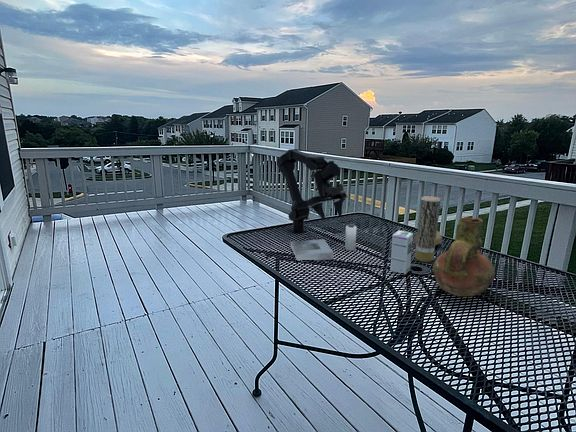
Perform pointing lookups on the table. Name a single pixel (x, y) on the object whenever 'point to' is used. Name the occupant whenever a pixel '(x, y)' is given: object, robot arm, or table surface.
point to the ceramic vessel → (464, 262)
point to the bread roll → (438, 237)
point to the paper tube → (427, 228)
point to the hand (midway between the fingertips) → (332, 217)
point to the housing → (311, 250)
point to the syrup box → (401, 251)
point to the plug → (350, 237)
